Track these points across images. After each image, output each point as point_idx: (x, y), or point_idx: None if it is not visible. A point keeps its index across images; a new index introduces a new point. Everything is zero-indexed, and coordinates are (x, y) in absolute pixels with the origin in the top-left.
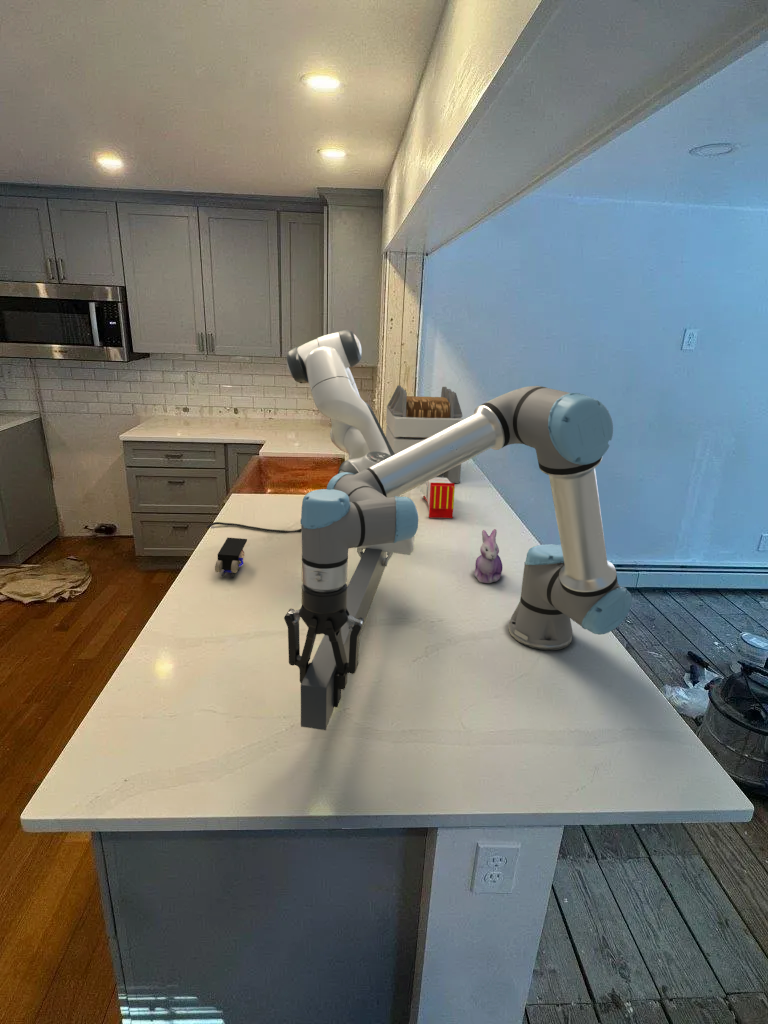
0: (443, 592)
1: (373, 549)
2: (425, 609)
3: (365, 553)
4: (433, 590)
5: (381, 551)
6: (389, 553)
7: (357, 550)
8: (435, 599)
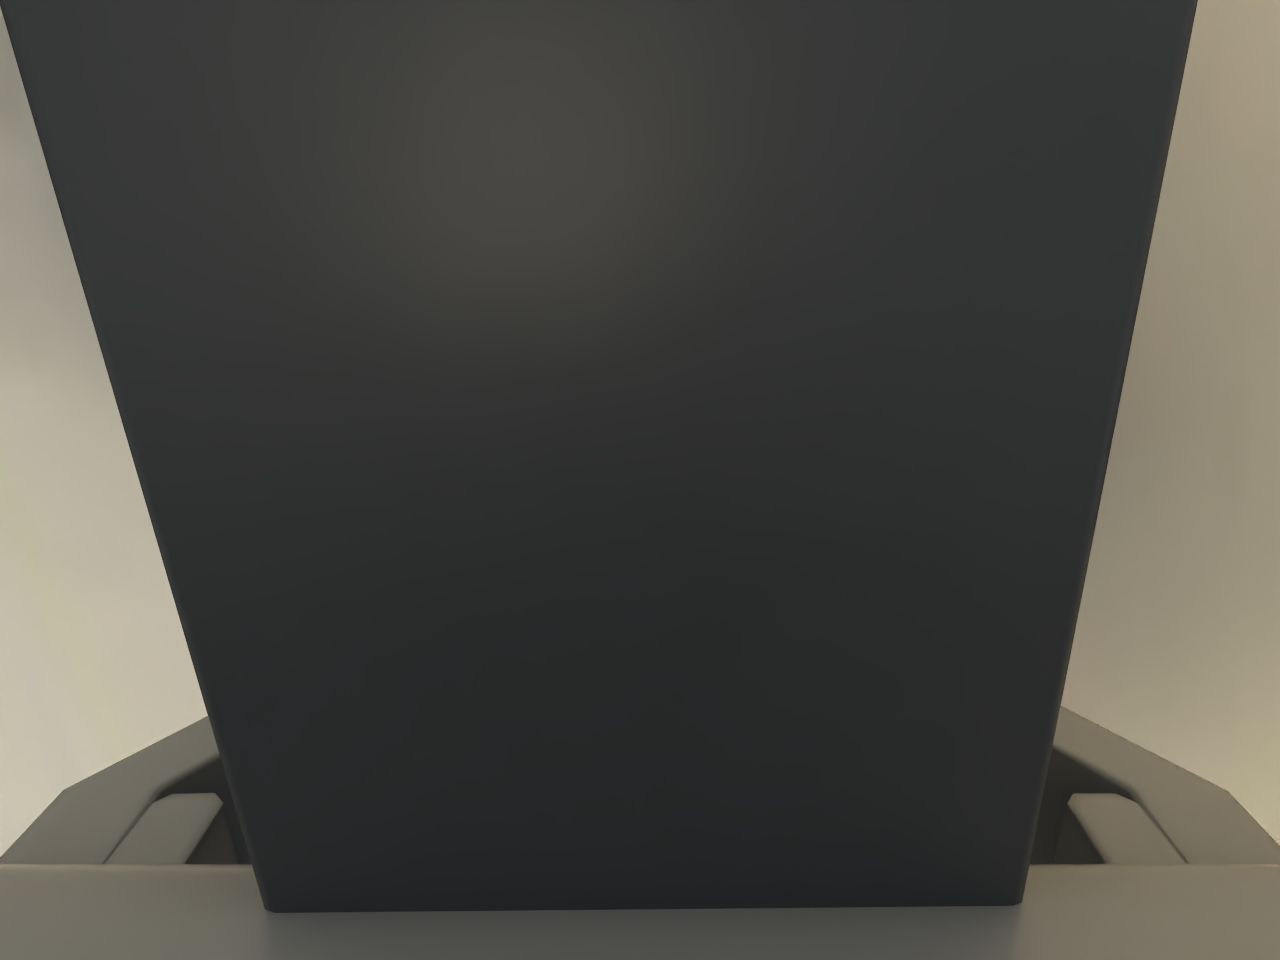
0: (6, 727)
1: (652, 847)
2: (31, 357)
3: (1008, 257)
4: (110, 738)
5: (226, 762)
6: (90, 853)
7: (1230, 816)
8: (21, 584)
